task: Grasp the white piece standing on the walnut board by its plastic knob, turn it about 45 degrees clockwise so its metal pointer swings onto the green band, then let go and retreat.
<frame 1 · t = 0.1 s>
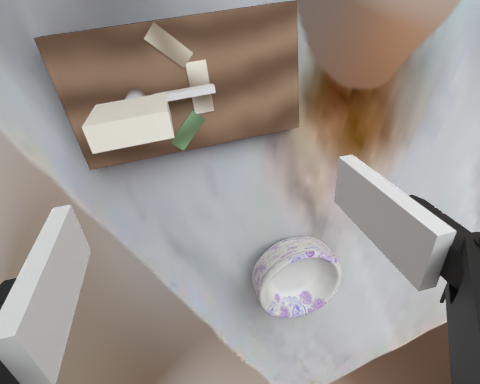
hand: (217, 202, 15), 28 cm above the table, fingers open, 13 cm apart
white piece: (161, 108, 31), point 9 cm above the table, hinge at 0.0°
paper bowls: (285, 256, 59), on the table
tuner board: (186, 85, 39), on the table
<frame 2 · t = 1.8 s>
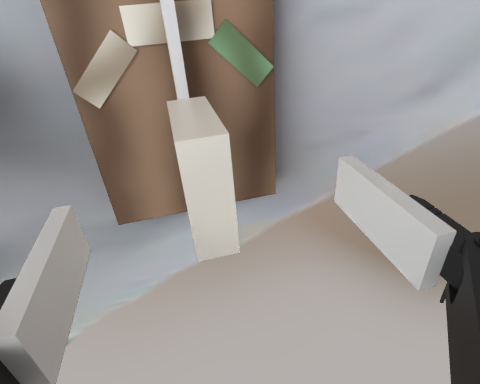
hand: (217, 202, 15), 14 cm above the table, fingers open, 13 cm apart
white piece: (189, 116, 18), point 9 cm above the table, hinge at 0.0°
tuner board: (171, 43, 24), on the table
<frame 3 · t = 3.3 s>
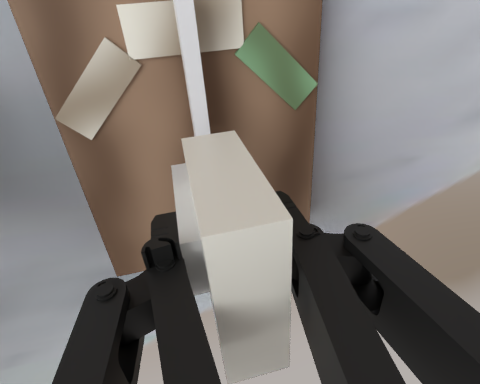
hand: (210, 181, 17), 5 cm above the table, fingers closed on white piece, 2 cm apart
white piece: (214, 161, 13), point 9 cm above the table, hinge at 0.0°, touching gripper
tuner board: (185, 53, 18), on the table
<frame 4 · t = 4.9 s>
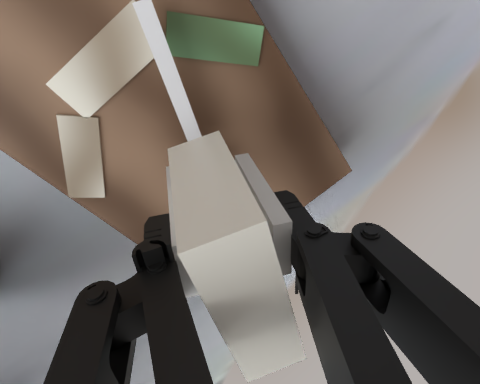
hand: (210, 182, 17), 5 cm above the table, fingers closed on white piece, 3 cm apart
white piece: (202, 165, 13), point 9 cm above the table, hinge at -21.4°, touching gripper
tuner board: (134, 78, 18), on the table
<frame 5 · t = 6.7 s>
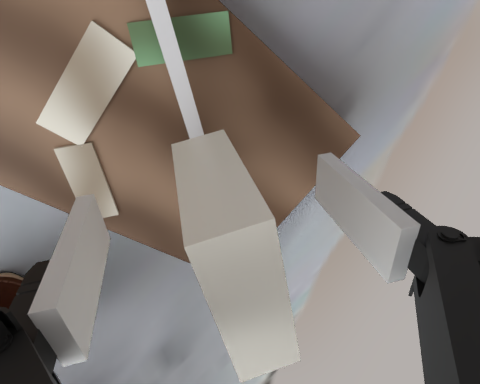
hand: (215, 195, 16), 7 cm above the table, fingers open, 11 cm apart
white piece: (205, 163, 13), point 9 cm above the table, hinge at -38.7°
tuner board: (118, 94, 19), on the table
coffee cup: (9, 298, 24), on the table
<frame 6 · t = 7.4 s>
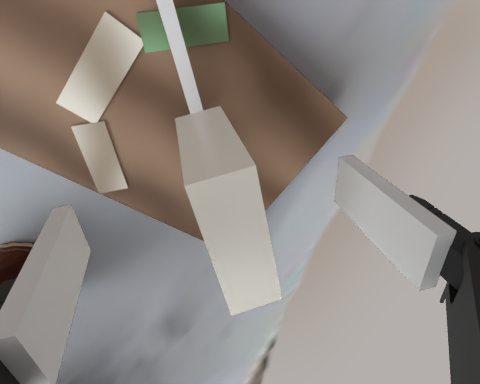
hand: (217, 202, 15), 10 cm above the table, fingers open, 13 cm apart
white piece: (204, 134, 15), point 9 cm above the table, hinge at -39.3°
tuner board: (127, 79, 21), on the table
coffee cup: (28, 267, 27), on the table
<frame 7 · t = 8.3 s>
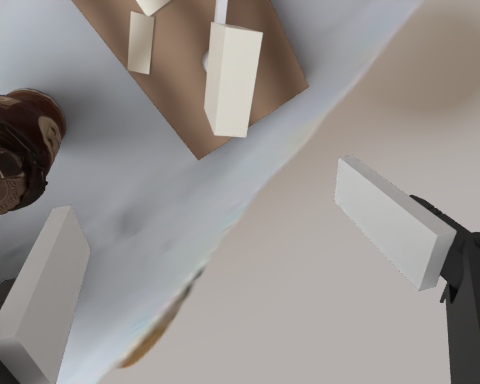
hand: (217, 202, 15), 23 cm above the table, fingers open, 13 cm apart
white piece: (227, 35, 24), point 9 cm above the table, hinge at -39.5°
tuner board: (175, 1, 30), on the table
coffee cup: (36, 119, 33), on the table
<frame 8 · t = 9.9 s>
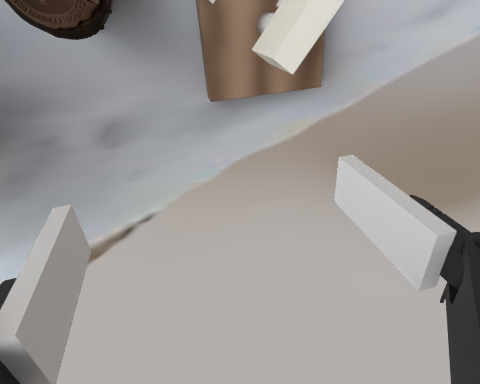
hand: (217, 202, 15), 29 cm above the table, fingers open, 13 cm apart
white piece: (301, 0, 30), point 9 cm above the table, hinge at -39.6°
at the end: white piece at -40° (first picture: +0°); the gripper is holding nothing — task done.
